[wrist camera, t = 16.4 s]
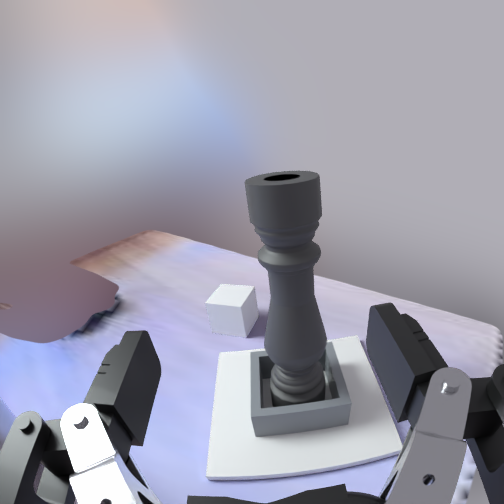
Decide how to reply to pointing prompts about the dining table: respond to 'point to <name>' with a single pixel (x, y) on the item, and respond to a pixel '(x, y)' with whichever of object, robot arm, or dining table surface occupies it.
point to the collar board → (297, 418)
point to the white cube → (232, 310)
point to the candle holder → (290, 281)
